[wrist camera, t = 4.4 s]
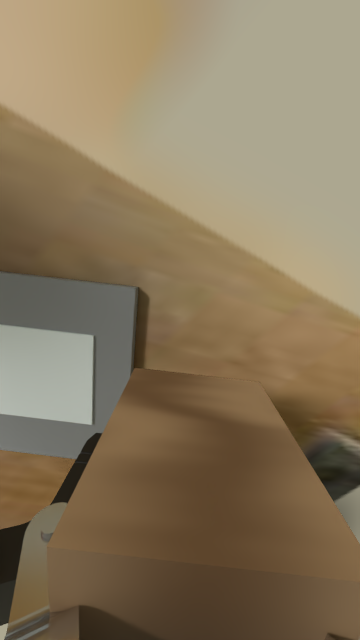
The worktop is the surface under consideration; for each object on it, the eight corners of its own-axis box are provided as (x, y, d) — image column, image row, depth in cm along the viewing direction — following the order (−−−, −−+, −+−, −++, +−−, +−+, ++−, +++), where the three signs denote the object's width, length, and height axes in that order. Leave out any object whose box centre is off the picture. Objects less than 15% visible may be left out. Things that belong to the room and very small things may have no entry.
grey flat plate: (-18, 438, 21) (-30, 447, 20) (-39, 266, 18) (-55, 267, 16) (127, 455, 21) (124, 467, 20) (138, 286, 17) (134, 288, 16)
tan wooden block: (128, 468, 12) (55, 725, 5) (134, 367, 11) (46, 546, 4) (237, 480, 12) (302, 752, 5) (259, 381, 11) (384, 584, 4)
